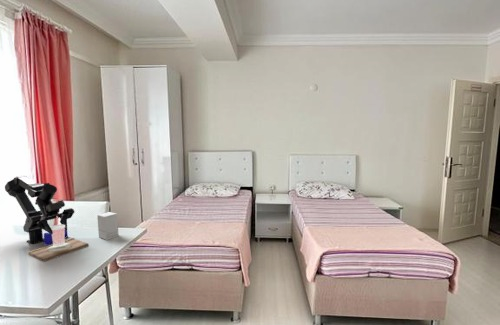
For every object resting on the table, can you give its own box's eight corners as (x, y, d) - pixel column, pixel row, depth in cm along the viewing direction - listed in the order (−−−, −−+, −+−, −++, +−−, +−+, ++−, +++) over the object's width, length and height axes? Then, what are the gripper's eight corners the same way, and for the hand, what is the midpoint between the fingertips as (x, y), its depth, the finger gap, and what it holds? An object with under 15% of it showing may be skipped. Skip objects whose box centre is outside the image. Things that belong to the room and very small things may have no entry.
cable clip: (60, 236, 158) (59, 225, 158) (67, 236, 158) (66, 226, 157) (41, 245, 146) (40, 233, 146) (50, 245, 146) (49, 233, 145)
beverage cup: (52, 242, 141) (50, 215, 139) (67, 241, 143) (65, 213, 142) (49, 247, 135) (47, 218, 134) (65, 245, 138) (63, 217, 136)
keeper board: (28, 254, 135) (28, 251, 134) (73, 240, 152) (72, 237, 152) (43, 261, 127) (43, 258, 127) (88, 245, 145) (88, 242, 144)
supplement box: (119, 235, 158) (117, 213, 157) (106, 240, 152) (104, 216, 151) (111, 233, 162) (109, 211, 161) (98, 237, 156) (96, 214, 155)
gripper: (28, 200, 131) (42, 228, 126) (71, 192, 147) (85, 217, 142) (22, 214, 136) (35, 241, 131) (64, 205, 152) (77, 229, 147)
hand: (59, 231), depth 138 cm, fingers closed on beverage cup, 6 cm apart
